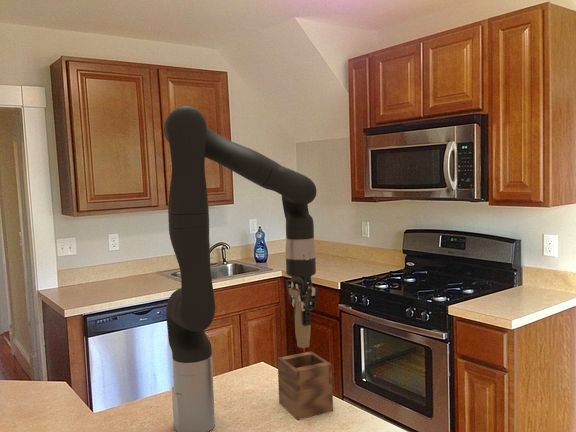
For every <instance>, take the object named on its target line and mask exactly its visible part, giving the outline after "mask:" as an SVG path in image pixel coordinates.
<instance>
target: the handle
mask: <svg viewBox="0 0 576 432" xmlns="http://www.w3.org/2000/svg"><path fill="white" fill-rule="evenodd" d="M289 294H290V295H291V296H293V297H295V301H296V305H295V320H294V332H295V339H296V346H297V348H299V349H300V348H301V349H306V348H310V340H311V331H312V329H311V328H312V327H311V324H312V323H311V324H310V325H307V326H304V325H302V309H301V302H299V300H298V296H299V291H298V290H296V289H293V288H289ZM302 298H306V295H304V296H302ZM304 303H305V302H304Z"/></svg>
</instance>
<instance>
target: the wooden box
mask: <svg viewBox="0 0 576 432" xmlns="http://www.w3.org/2000/svg"><path fill="white" fill-rule="evenodd" d="M277 376H278V377H277V379H278V381H277V382H278V383H277V384H278V403H279V404H280V405H281V406H282V407H283V408H284V409H285V410H287V412H289V413H290V414H291V415H292V416H293V417H294V418H295V419H296V420H301V419H306V418H310V417H315V416H317V415H321V414H326V413H329V412H333V411H334V397H333V396H334V395H333V394H334V393H333V391H334V390H333V388H334V387H333V364H332V363H331V362H329V361H328V360H326V359H324V358H322V357H321V356H320V355H318V354H317V353H315V352H313V351H312V350H311V351H306V352H301V353H300V352H299V353H295V354H291V355H286V356H281V357H280V356H279V357H277Z"/></svg>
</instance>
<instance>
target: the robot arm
mask: <svg viewBox="0 0 576 432" xmlns="http://www.w3.org/2000/svg"><path fill="white" fill-rule="evenodd" d="M163 134H164V137H165V139H166V141H167V142H168V145H169V151H170V160H171V177H170V184H169V191H168V193H169V194H168V205H167V208H168V209H167V211H168V212H167V214H168V215H167V216H168V233H169V239H170V242H171V246H172V249H173V251H174V252H173V253H174V254H175V257H176V260H177V263H178V268H179V272H180V280H181V281H180V283H181V285H180V286H181V287H180V288H178V289H176V290H174V291H173V292H172V294H171V295H170V296H169V298H168V300H167V304H166V310H165V311H166V312H165V313H166V326H167V338H168V339H167V341H168V344H169V347H170V350H171V355H172V374H173V386H172V387H171V395H172V396H171V397H172V417H173V420H172V421H173V426H174V429H175V431H176V432H211V430H213V429H214V427H215V424H216V420H215V418H216V417H215V416H216V415H215V397H214V393H215V392H214V376H213V375H214V373H213V372H214V371H213V353H212V352H213V349H212V343H211V341H210V340H209V338H208V336H207V334H206V332H205V330H208V328H209V327H210V326H211V325H212V324H213V320H214V319H215V315H216V300H215V292H214V285H213V278H212V273H211V272H212V271H211V249H210V248H211V247H210V246H211V245H210V214H209V213H210V212H209V210H210V208H209V197H208V187H207V179H206V170H205V167H206V166H205V163H206V161H205V159H206V158H207V159H208V160H211V161H213V162H215V163H218V164H219V165H221V166H222V167H223V166H224V167H225V168H226V169H228V170H230V171H232V172H234V173H235V174H237V175H239V176H241V177H243V178H245V180H246V179H247V181H250V182H251V183H253V184H255V185H258V186H260V187H261V188H263V189H265V190H269V191H273V192H275V193H277V194H279V195H281V203H282V208H283V209H282V210H283V214H284V217H285V236H286V237H285V238H286V239H285V240H286V241H285V270H286V271H285V273H286V275H287V276H289V277H291V278H290V279H287V280H286V281H285V283H286V290H287V296H288V302H289V303H290V304H292V307H293V320H294V321H295V305H296V301H295V297H293V296H291V295H290V294H289V288H293V289H296V290H298V291H299V296H298V300H299V302H301V309H302V325H304V326H307V325H310V324H312V318H311V315H312V314H311V311H312V310H315V309H316V308H317V307H316V306H317V300H318V294H319V288H318V287H314V286H313V281H312V276H315V275H316V273H317V268H316V267H317V265H316V263H317V262H316V258H317V257H316V244H315V228H314V227H315V225H314V219H313V216H311V215H310V212H309V205H308V204H311V203H312V202H313V201H314V200H315V199H316V197H317V194H318V192H317V191H318V190H317V186H316V184H315V182H314V181H313V180H312V179H311V178H309V177H307V176H306V175H304V174H302V173H300V172H298V171H295V170H294V169H290V168H287V167H285V166H283V165H281V164H280V163H278V162H276V161H275V160H273V159H271V158H269V157H267V156H266V155H264V154H262V153H260V152H258V151H257V150H255V149H252V148H249V147H246V146H245V145H243V144H239V143H237V142H234V141H232V140H229V139H227V138H225V137H223V136H222V135H220V134H218V133H216V132H215V131H214V130H212V129H210V128H209V127H208V126H207V122H206V118H205V117H204V115H203V114H202V113H201V112H200V111H199V110H198V109H197V108H195V107H194V106H190V105H182V106H179V107H177V108H174V109H173V110H172V111H171V112H170V113H169V114H168V116H167V117H166V119H165V121H164V123H163ZM304 295H306V298H302V296H304ZM304 302H305V303H304Z"/></svg>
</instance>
